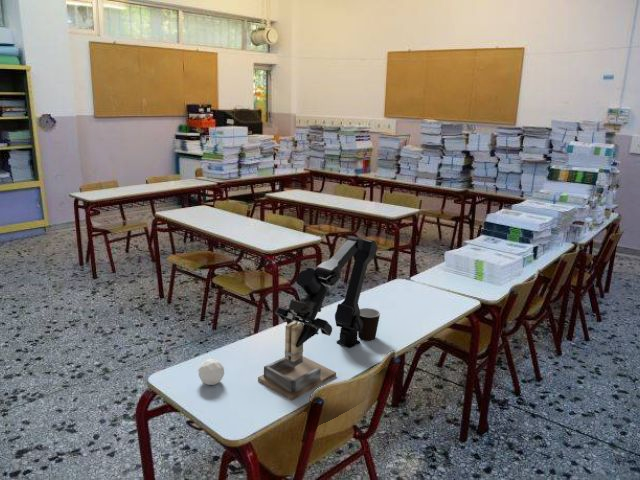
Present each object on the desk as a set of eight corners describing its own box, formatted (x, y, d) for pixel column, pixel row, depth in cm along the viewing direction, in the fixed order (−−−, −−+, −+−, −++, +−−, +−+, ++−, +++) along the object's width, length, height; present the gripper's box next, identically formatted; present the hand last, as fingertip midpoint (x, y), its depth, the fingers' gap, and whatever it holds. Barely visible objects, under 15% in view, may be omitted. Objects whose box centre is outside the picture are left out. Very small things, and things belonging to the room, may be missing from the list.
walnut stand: (302, 359, 174) (303, 346, 173) (336, 375, 164) (336, 362, 163) (257, 380, 160) (258, 367, 159) (291, 400, 150) (292, 385, 149)
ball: (210, 394, 156) (200, 383, 150) (200, 375, 161) (190, 364, 155) (231, 379, 158) (222, 368, 152) (221, 361, 163) (211, 349, 157)
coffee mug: (377, 343, 188) (378, 318, 185) (353, 340, 189) (355, 315, 187) (379, 330, 199) (381, 306, 196) (357, 327, 200) (359, 304, 198)
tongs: (293, 358, 162) (294, 320, 159) (302, 361, 160) (304, 323, 157) (284, 364, 158) (285, 325, 155) (293, 367, 156) (294, 328, 153)
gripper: (279, 282, 161) (256, 326, 155) (328, 296, 151) (305, 343, 145) (293, 298, 170) (272, 340, 164) (341, 312, 160) (320, 358, 154)
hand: (291, 345), depth 156 cm, fingers closed on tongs, 3 cm apart
